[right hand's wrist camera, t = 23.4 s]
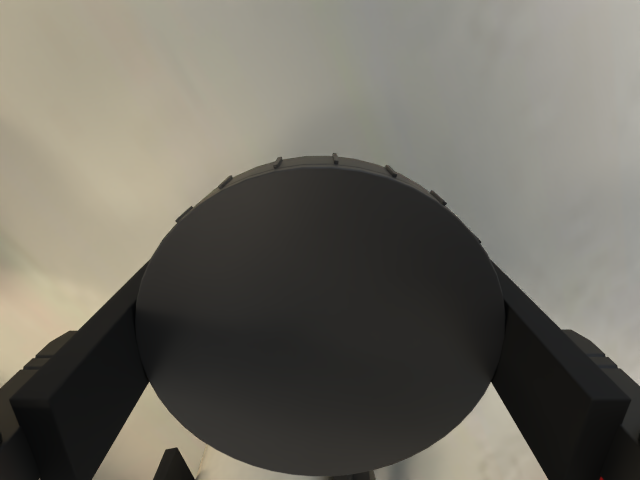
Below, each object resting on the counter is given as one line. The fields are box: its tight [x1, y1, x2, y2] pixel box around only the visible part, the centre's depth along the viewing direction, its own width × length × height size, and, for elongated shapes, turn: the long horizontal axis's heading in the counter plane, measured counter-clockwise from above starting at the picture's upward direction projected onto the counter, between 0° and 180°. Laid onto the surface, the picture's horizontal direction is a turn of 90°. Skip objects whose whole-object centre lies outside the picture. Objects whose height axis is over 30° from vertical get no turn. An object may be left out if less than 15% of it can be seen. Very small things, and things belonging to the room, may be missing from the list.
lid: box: [135, 153, 506, 476], centre depth 11 cm, size 10×10×2 cm
